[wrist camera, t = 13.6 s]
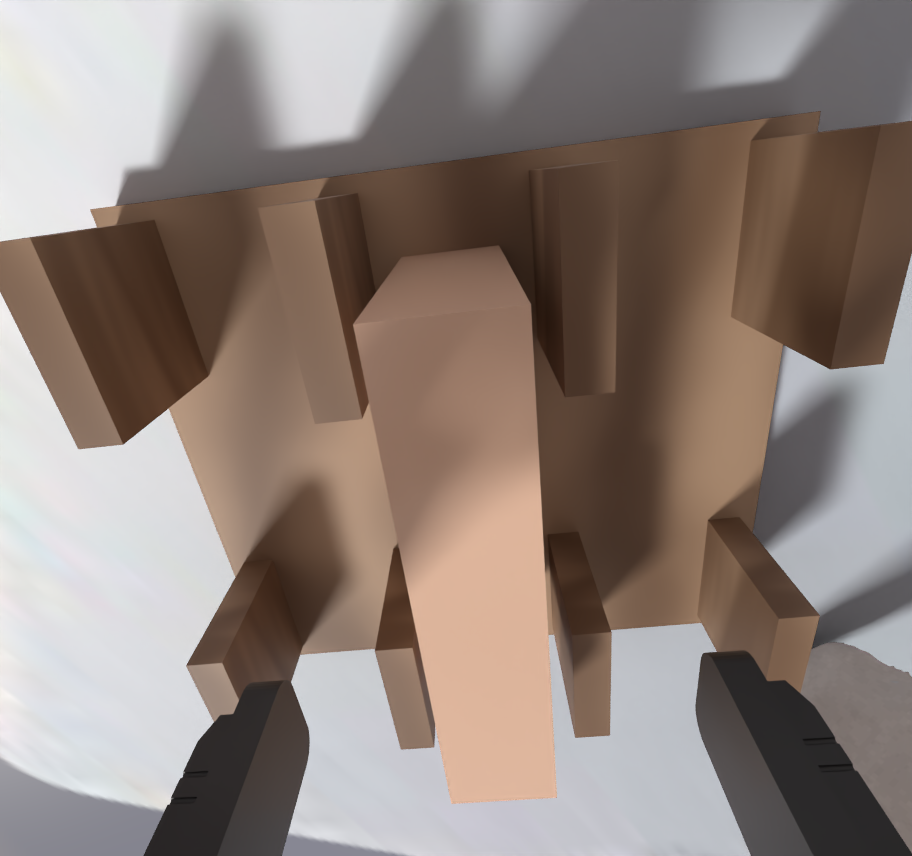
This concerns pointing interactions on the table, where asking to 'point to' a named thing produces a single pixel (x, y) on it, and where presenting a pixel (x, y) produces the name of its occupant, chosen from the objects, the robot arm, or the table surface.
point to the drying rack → (555, 365)
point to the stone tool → (868, 722)
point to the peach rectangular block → (467, 509)
